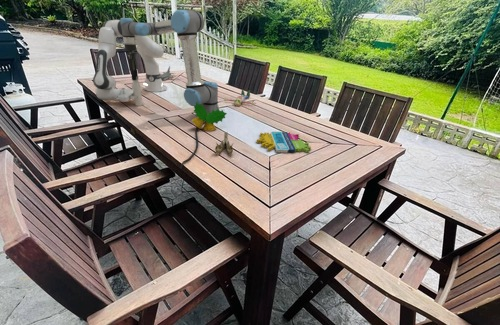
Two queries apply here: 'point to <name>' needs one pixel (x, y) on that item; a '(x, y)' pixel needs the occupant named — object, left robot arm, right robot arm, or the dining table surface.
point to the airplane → (166, 74)
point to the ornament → (207, 117)
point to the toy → (241, 99)
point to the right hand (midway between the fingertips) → (135, 79)
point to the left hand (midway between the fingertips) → (138, 96)
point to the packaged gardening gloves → (283, 142)
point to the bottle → (137, 92)
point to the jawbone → (224, 145)
